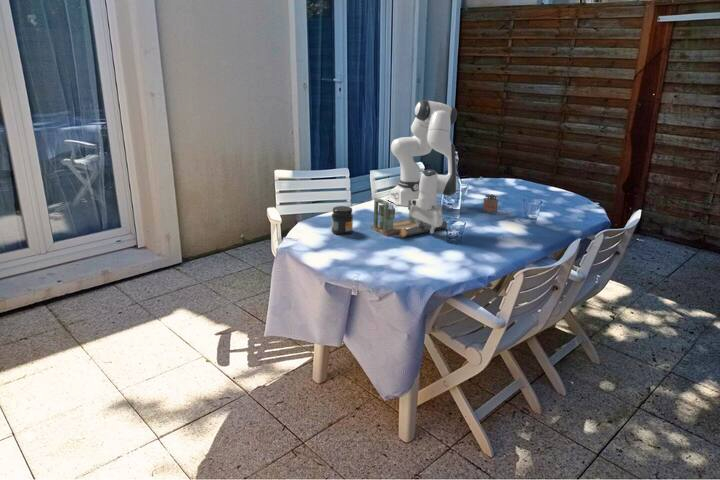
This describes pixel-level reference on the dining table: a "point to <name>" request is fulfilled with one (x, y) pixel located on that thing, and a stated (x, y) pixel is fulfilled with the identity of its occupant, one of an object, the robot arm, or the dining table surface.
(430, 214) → the robot arm
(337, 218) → the supplement container
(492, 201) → the lighter
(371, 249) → the dining table surface
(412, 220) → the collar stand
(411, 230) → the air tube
